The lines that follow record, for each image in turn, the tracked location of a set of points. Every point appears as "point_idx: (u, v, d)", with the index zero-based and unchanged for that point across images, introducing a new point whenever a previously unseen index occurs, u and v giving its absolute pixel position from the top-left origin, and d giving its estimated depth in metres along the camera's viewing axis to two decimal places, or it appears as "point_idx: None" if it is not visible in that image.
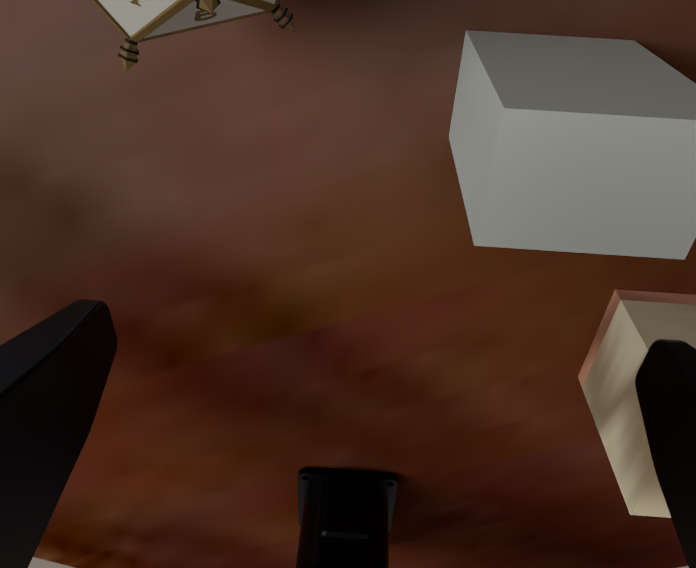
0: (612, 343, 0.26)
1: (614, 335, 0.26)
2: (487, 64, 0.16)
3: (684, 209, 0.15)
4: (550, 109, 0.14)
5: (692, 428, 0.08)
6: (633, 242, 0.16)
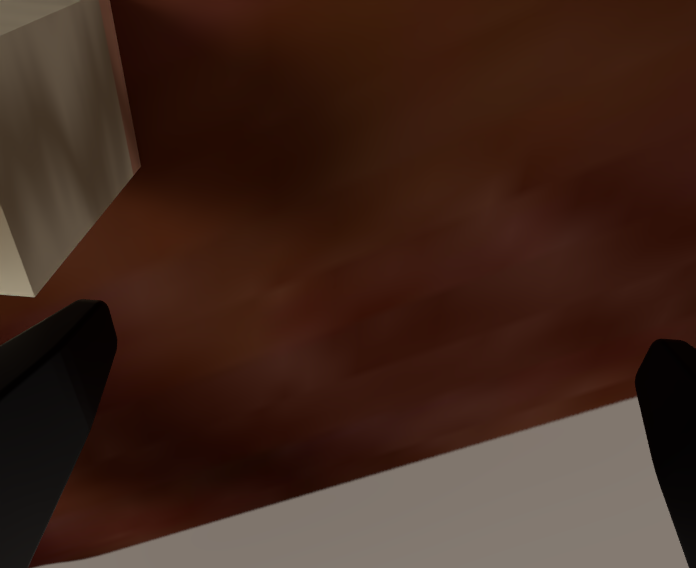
0: None
1: None
2: None
3: None
4: None
5: (692, 428, 0.08)
6: None
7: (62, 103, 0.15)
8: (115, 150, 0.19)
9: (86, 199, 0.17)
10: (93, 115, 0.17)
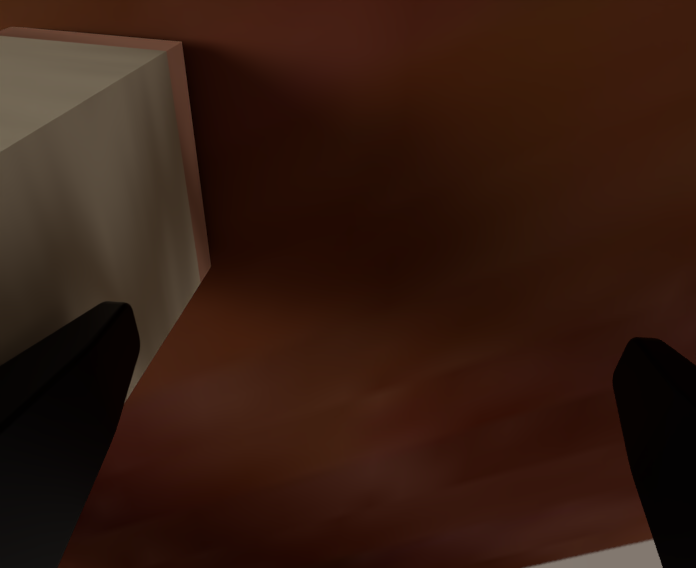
0: None
1: None
2: None
3: None
4: None
5: (665, 426, 0.08)
6: None
7: (104, 226, 0.10)
8: (178, 260, 0.13)
9: None
10: (150, 225, 0.12)
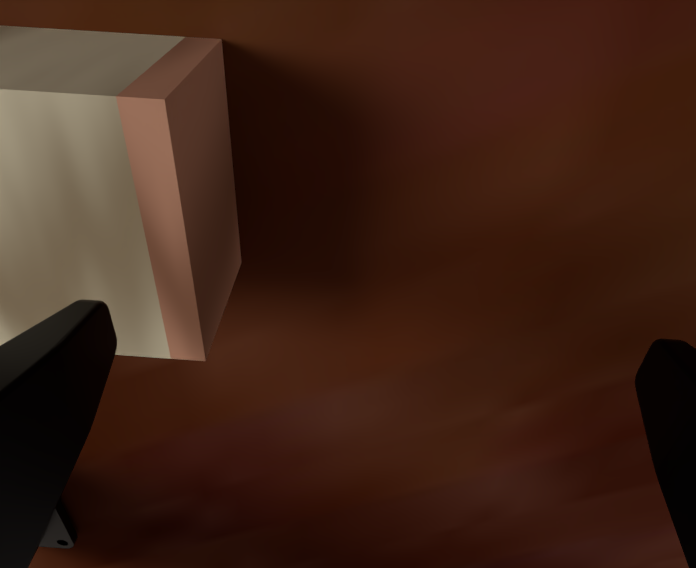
0: None
1: None
2: None
3: None
4: None
5: (692, 428, 0.08)
6: None
7: None
8: (115, 308, 0.12)
9: (5, 317, 0.12)
10: (50, 243, 0.11)
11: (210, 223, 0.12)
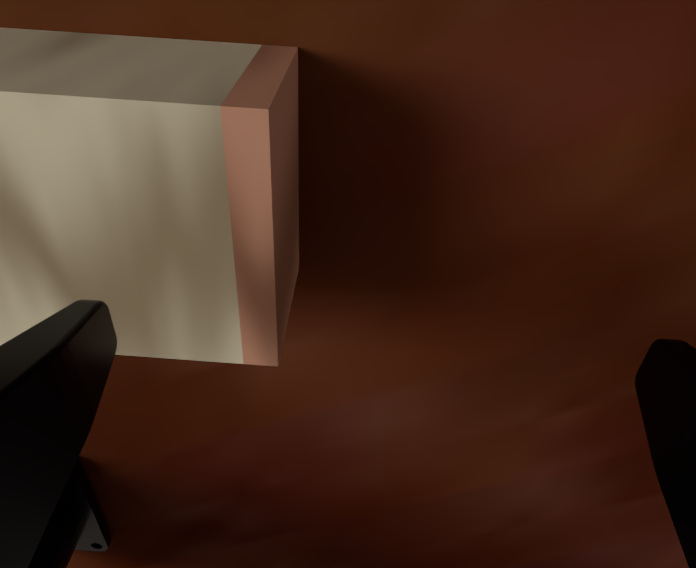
0: None
1: None
2: None
3: None
4: None
5: (692, 428, 0.08)
6: None
7: (47, 207, 0.10)
8: (194, 314, 0.12)
9: None
10: (136, 251, 0.11)
11: (285, 229, 0.12)
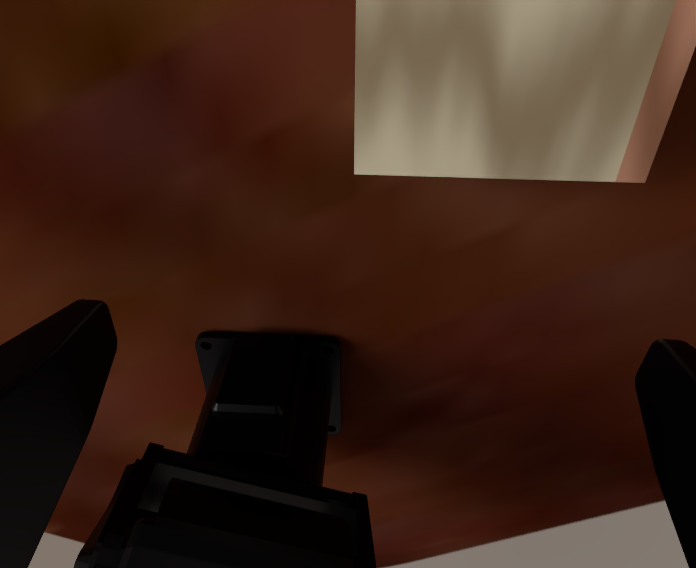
0: None
1: None
2: None
3: None
4: None
5: (692, 428, 0.08)
6: None
7: (513, 30, 0.13)
8: (593, 131, 0.14)
9: (491, 147, 0.15)
10: (570, 70, 0.13)
11: None
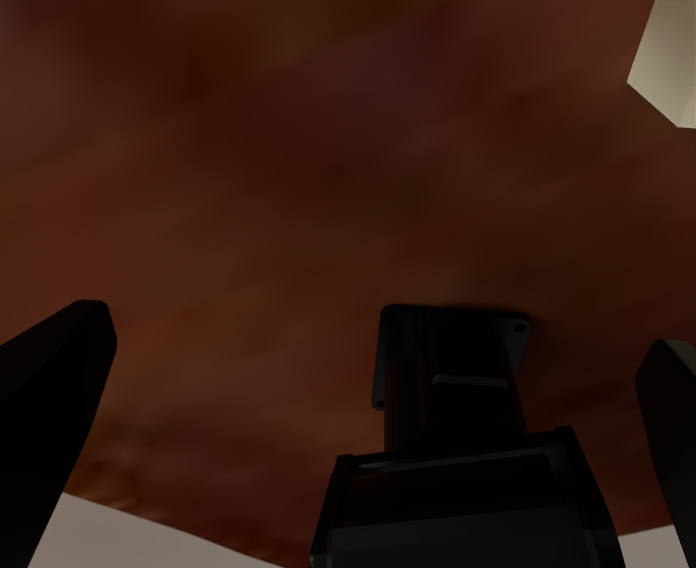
0: None
1: None
2: None
3: None
4: None
5: (692, 428, 0.08)
6: None
7: None
8: None
9: None
10: None
11: None
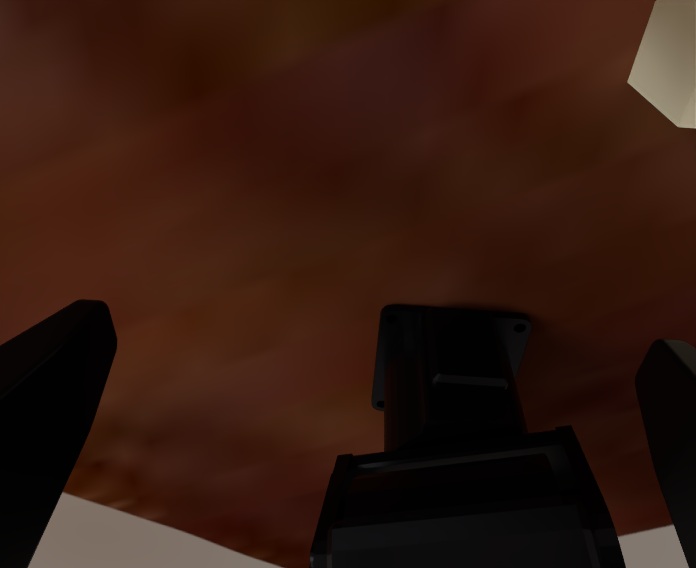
0: None
1: None
2: None
3: None
4: None
5: (692, 428, 0.08)
6: None
7: None
8: None
9: None
10: None
11: None
